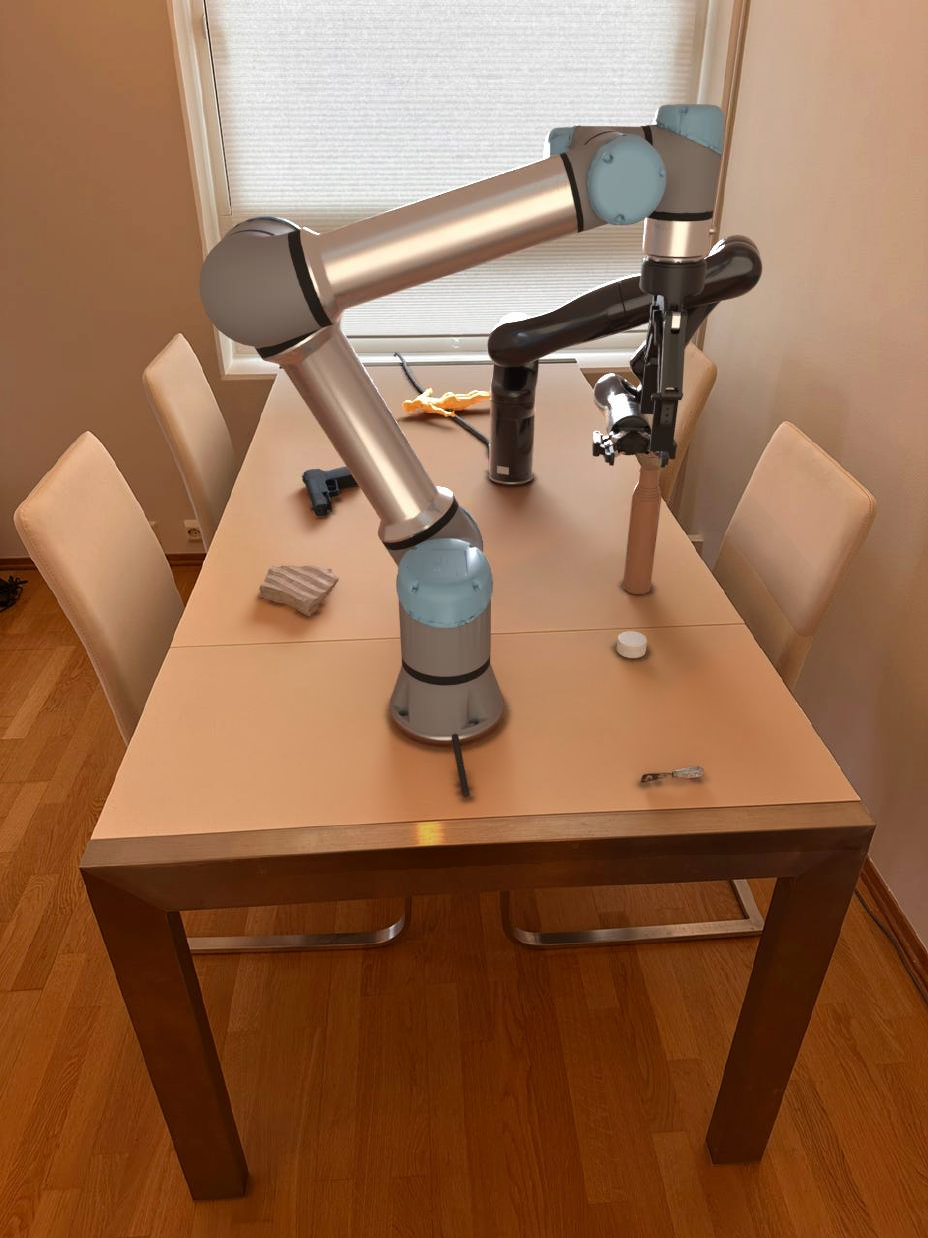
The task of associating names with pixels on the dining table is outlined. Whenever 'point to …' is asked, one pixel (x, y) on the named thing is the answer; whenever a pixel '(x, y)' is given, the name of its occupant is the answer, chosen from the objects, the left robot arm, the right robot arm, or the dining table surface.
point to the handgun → (326, 487)
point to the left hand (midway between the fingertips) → (655, 431)
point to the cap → (631, 644)
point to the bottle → (642, 531)
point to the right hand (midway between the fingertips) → (638, 461)
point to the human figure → (444, 402)
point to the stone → (298, 586)
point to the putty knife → (674, 774)
